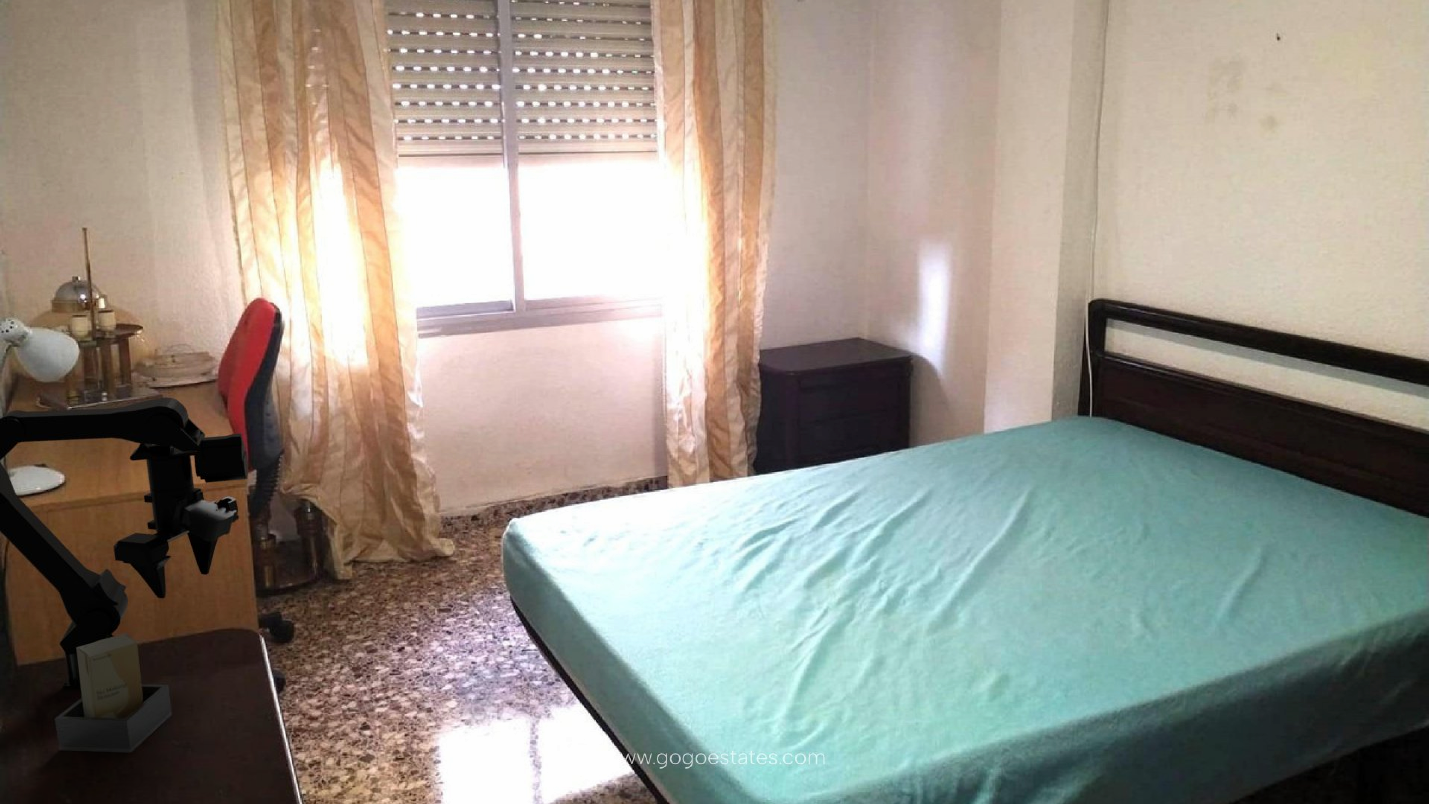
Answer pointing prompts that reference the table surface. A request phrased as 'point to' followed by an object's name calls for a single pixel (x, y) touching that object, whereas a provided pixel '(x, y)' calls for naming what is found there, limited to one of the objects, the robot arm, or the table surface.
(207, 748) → the table surface
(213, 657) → the table surface
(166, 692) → the grey open tray
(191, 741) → the table surface
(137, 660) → the skincare box
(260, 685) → the table surface
